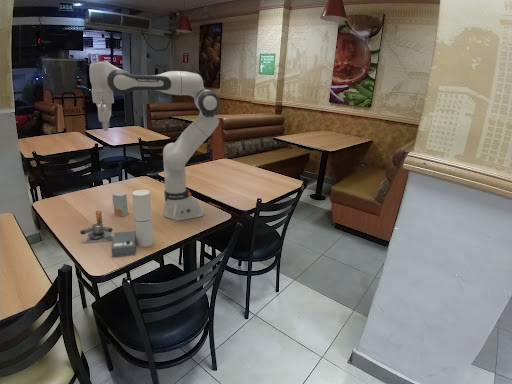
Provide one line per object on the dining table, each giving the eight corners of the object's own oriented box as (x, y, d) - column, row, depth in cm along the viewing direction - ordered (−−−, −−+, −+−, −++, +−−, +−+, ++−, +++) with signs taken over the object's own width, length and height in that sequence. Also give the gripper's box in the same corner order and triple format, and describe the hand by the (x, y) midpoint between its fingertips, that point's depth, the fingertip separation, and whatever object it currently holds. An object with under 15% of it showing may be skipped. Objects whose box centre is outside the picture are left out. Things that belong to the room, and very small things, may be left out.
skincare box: (114, 214, 164) (111, 194, 160) (119, 211, 168) (117, 191, 164) (123, 216, 162) (120, 196, 158) (128, 213, 166) (126, 193, 162)
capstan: (115, 227, 151) (113, 209, 147) (113, 238, 140) (111, 220, 137) (85, 229, 146) (83, 211, 143) (81, 242, 136) (78, 222, 132)
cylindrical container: (133, 244, 138) (128, 193, 129) (144, 237, 144) (140, 188, 135) (146, 248, 135) (142, 196, 126) (156, 241, 142) (153, 191, 133)
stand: (136, 228, 152) (135, 218, 149) (135, 254, 130) (134, 242, 128) (88, 232, 145) (87, 222, 143) (78, 260, 124) (76, 248, 122)
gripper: (109, 101, 131) (112, 133, 135) (112, 97, 148) (115, 125, 153) (92, 100, 128) (96, 133, 133) (98, 96, 146) (101, 125, 151)
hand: (106, 129), depth 143 cm, fingers open, 8 cm apart
